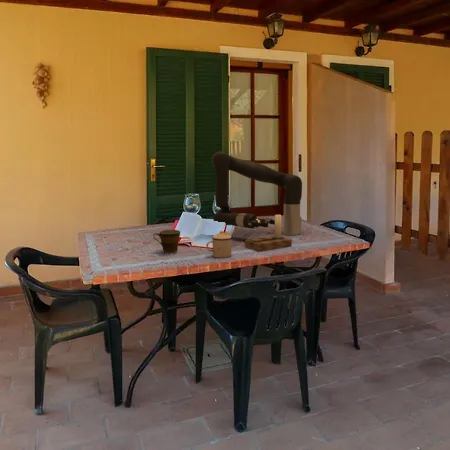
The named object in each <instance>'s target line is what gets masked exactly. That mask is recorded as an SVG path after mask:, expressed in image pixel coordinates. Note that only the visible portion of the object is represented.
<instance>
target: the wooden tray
mask: <svg viewBox="0 0 450 450" xmlns="http://www.w3.org/2000/svg"><path fill="white" fill-rule="evenodd" d="M272 236H273V235H270V236H264V237H256V238H250V239H245V240H244V247H245V248H247V249H250V250H254V251H256V252H260V253H261V252H265V251H271V250H277V249H278V250H279V249H283V248H288V247H292V241H293V239H292V238H287V237H284V238H280V239H276V238H272Z"/></svg>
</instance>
